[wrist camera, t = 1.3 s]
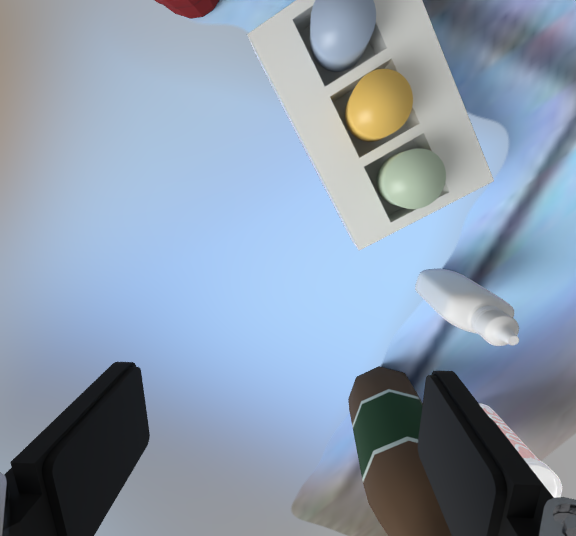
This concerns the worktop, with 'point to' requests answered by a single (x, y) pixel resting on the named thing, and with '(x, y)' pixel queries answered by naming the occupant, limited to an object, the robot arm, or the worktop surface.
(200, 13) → the plastic cup
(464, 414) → the robot arm
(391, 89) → the button amber
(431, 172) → the button sage
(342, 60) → the button slate
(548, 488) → the beverage cup
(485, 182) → the white slotted frame
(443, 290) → the eye dropper bottle
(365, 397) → the beer bottle
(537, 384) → the worktop surface
